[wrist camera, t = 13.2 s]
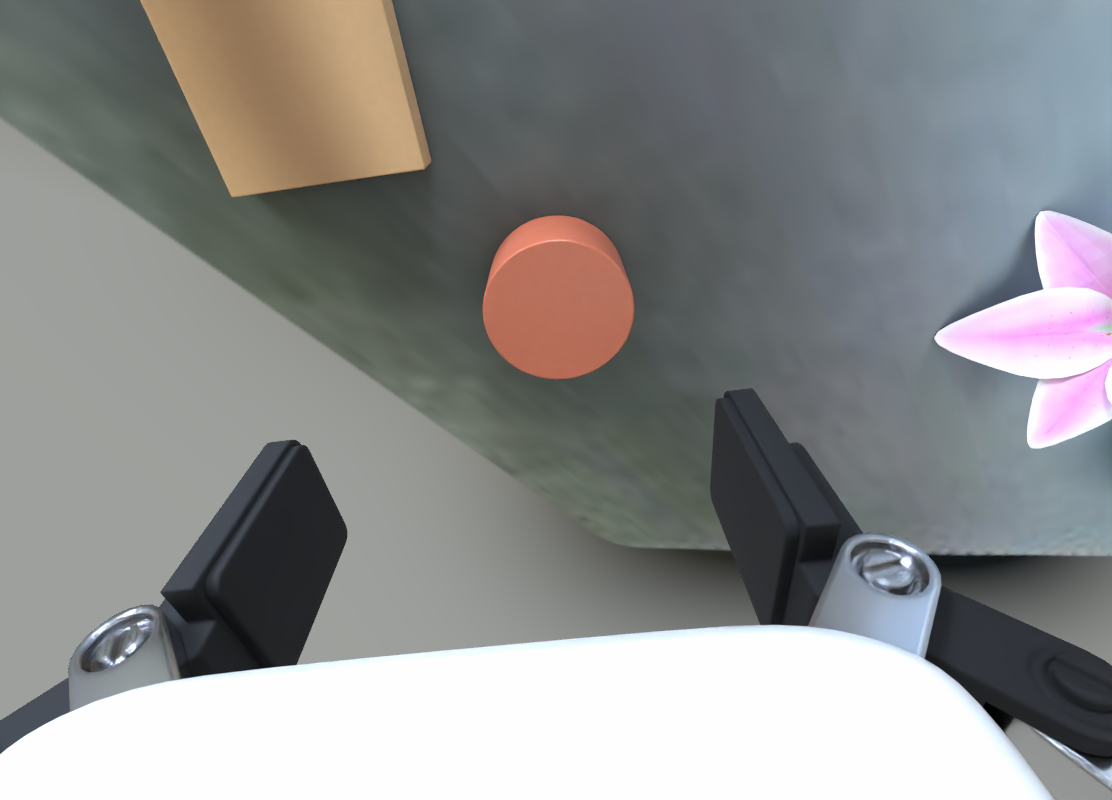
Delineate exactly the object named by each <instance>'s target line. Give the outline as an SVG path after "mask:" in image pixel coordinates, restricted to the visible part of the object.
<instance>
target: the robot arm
mask: <svg viewBox="0 0 1112 800" xmlns="http://www.w3.org/2000/svg"><path fill="white" fill-rule="evenodd" d="M710 492H711V498H712V502H713V505H714V508H715V510H716V513H717V515H718V518H719V520H720V523H721V526H722V528H723V531H724V533H725V536H726V538H727V541H728V543H729V546H730V548H731V551H732V554H733V556H734V559H735V561H736V564H737V566H738V568H739V571H740V574H741V576H742V579H743V582H744V584H745V587H746V589H747V592H748V594H749V597H750V599H751V602H752V604H753V607H754V610H755V612H756V615H757V617H758V620H759V622H760V625H749V626H726V627H712V628H699V629H685V630H672V631H671V630H670V631H657V632H645V633H633V634H622V635H611V636H600V637H588V638H576V639H566V640H555V641H544V642H531V643H521V644H510V645H499V646H489V647H477V648H468V649H456V650H447V651H435V652H424V653H414V654H403V655H393V656H383V657H373V658H362V659H352V660H342V661H332V662H323V663H312V664H302V665H297V662H298V660H299V657H300V655H301V652H302V650H303V647H304V645H305V642H306V640H307V637H308V635H309V632H310V630H311V627H312V625H313V623H314V620H315V618H316V615H317V612H318V610H319V608H320V605H321V603H322V600H323V598H324V595H325V593H326V590H327V588H328V585H329V583H330V580H331V578H332V575H333V573H334V570H335V568H336V566H337V563H338V561H339V558H340V556H341V553H342V551H343V548H344V546H345V543H346V540H347V528H346V525H345V523H344V521H343V519H342V516H341V515H340V512H339V510H338V508H337V506H336V504H335V502H334V500H333V498H332V496H331V494H330V492H329V490H328V488H327V486H326V484H325V482H324V479H323V478H322V476H321V473H320V472H319V469H318V467H317V465H316V463H315V461H314V459H313V457H312V455H311V453H310V451H309V449H308V448H307V447H306V446H305V445H301V444H300V443H299V442H298V441H296V440H287V441H279V442H271V443H268V444H267V445H266V446H265V447H264V448H263V450H262V451H261V452H260V454H259V455H258V456H257V458H256V459H255V461H254V462H253V463H252V465H251V466H250V468H249V469H248V470H247V472H246V473H245V475H244V476H243V477H242V479H241V480H240V482H239V483H238V484H237V486H236V487H235V489H234V490H233V491H232V493H231V494H230V496H229V497H228V499H227V500H226V501H225V503H224V504H223V505H222V507H221V508H220V509H219V511H218V513H217V514H216V515H215V516H214V518H213V519H212V521H211V522H210V523H209V525H208V526H207V528H206V529H205V530H204V532H203V533H202V535H201V536H200V537H199V539H198V540H197V542H196V543H195V545H194V546H193V547H192V549H191V550H190V551H189V553H188V554H187V556H186V557H185V558H184V560H183V561H182V563H181V564H180V565H179V567H178V568H177V570H176V571H175V572H174V574H173V575H172V577H171V578H170V579H169V581H168V582H167V584H166V585H165V586H164V588H163V589H162V591H161V594H162V595H163V596H164V597H165V600H164V601H163V603H162V604H161V606H160V607H157V606H154V605H140V606H136V607H133V608H129V609H127V610H124V611H122V612H120V613H118V614H116V615H114V616H112V617H111V618H109V619H108V620H106V621H105V622H103V623H101V624H100V625H99V626H98V627H97V628H95V629H94V630H93V631H92V632H91V633H90V634H88V635H87V636H86V637H85V639H84V640H83V641H82V642H81V643H80V644H79V645H78V647H77V648H76V650H75V652H74V654H73V656H72V657H71V659H70V663H69V668H68V674H69V675H68V676H69V677H68V678H67V679H65V680H64V681H62V682H61V683H59V684H57V685H56V686H54V687H53V688H51V689H50V690H48V691H46V692H45V693H43V694H42V695H40V696H38V697H37V698H36V699H34V700H32V701H31V702H29V703H27V704H26V705H24V706H23V707H21V708H20V709H18V710H16V711H15V712H13V713H12V714H10V715H9V716H7V717H5V718H4V719H2V720H0V800H1112V666H1111V665H1110V664H1109V663H1107V662H1106V661H1104V660H1103V659H1101V658H1099V657H1097V656H1095V655H1093V654H1091V653H1090V652H1088V651H1086V650H1084V649H1082V648H1079V647H1077V646H1075V645H1073V644H1070V643H1068V642H1066V641H1064V640H1062V639H1059V638H1057V637H1055V636H1053V635H1050V634H1048V633H1045V632H1044V631H1041V630H1039V629H1037V628H1035V627H1033V626H1030V625H1028V624H1026V623H1024V622H1021V621H1019V620H1017V619H1015V618H1012V617H1010V616H1008V615H1006V614H1004V613H1001V612H999V611H997V610H994V609H992V608H990V607H988V606H986V605H983V604H981V603H979V602H976V601H975V600H972V599H970V598H968V597H965V596H963V595H961V594H959V593H957V592H954V591H952V590H950V589H948V588H946V587H943V586H941V575H940V573H939V571H938V569H937V567H936V564H935V563H934V562H933V561H932V560H931V559H930V558H929V557H928V555H927V554H926V553H924V552H923V551H922V550H920V549H919V548H917V547H916V546H915V545H913V544H911V543H909V542H907V541H905V540H903V539H900V538H898V537H895V536H891V535H887V534H883V533H862V531H861V530H860V528H859V527H858V525H857V524H856V522H855V521H854V519H853V518H852V517H851V515H850V514H849V512H848V511H847V509H846V508H845V506H844V505H843V503H842V502H841V501H840V499H839V498H838V496H837V495H836V493H835V492H834V490H833V489H832V487H831V486H830V484H829V483H828V482H827V480H826V479H825V477H824V476H823V474H822V473H821V471H820V470H819V468H818V467H817V466H816V464H815V463H814V461H813V460H812V458H811V457H810V455H809V454H808V452H807V451H806V450H805V448H804V447H803V446H802V445H801V444H799V443H788V441H787V440H786V438H785V437H784V435H783V434H782V432H781V430H780V429H779V427H778V426H777V424H776V423H775V421H774V420H773V418H772V417H771V415H770V414H769V412H768V411H767V409H766V408H765V406H764V404H763V403H762V401H761V400H760V398H759V397H758V395H757V394H756V392H755V391H754V390H753V389H751V388H750V389H741V390H732V391H726V392H725V394H724V398H719V399H717V400H716V404H715V420H714V436H713V452H712V468H711V484H710Z"/></svg>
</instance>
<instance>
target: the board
mask: <svg viewBox="0 0 1112 800" xmlns="http://www.w3.org/2000/svg"><path fill="white" fill-rule="evenodd" d="M140 1H141V3H142V5H143V7H144V9H145V11H146V14H147V16H148V18H149V20H150V22H151V24H152V26H153V29H154V31H155V33H156V35H157V37H158V39H159V41H160V44H161V46H162V48H163V50H164V52H165V54H166V57H167V59H168V61H169V63H170V65H171V67H172V69H173V72H174V74H175V76H176V78H177V80H178V82H179V84H180V87H181V89H182V91H183V93H184V95H185V97H186V100H187V102H188V104H189V106H190V108H191V110H192V112H193V115H194V117H195V119H196V121H197V123H198V125H199V127H200V130H201V132H202V134H203V136H204V138H205V140H206V142H207V145H208V147H209V149H210V151H211V153H212V155H213V158H214V160H215V162H216V164H217V166H218V168H219V170H220V173H221V175H222V177H223V179H224V181H225V183H226V185H227V188H228V190H229V192H230V194H231V196H232V197H240V196H246V195H253V194H260V193H267V192H273V191H280V190H287V189H294V188H301V187H307V186H314V185H321V184H328V183H334V182H341V181H348V180H355V179H362V178H368V177H375V176H382V175H389V174H396V173H402V172H409V171H416V170H423V169H425V168H426V167H427V166H428V165H429V164H430V163H431V157H430V153H429V149H428V145H427V141H426V137H425V133H424V129H423V125H422V121H421V117H420V113H419V109H418V105H417V101H416V97H415V93H414V89H413V84H412V80H411V76H410V72H409V68H408V64H407V60H406V56H405V52H404V48H403V44H402V40H401V36H400V32H399V28H398V24H397V20H396V16H395V12H394V8H393V3H392V0H140Z"/></svg>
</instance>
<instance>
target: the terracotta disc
mask: <svg viewBox="0 0 1112 800" xmlns="http://www.w3.org/2000/svg"><path fill="white" fill-rule="evenodd" d="M633 318H634V298H633V293H632V289H631V286H630V283H629V280H628V278H627V275H626V272H625V269H624V266H623V264H622V261H621V258H620V256H619V254H618V251H617V249H616V248H615V246H614V245H613V243H612V242H611V241H610V239H609V238H608V237H607V236H606V235H605V234H604V233H603V232H602V231H601V230H599V229H598V228H597V227H595V226H594V225H592V224H590V223H588V222H586V221H584V220H581V219H578V218H575V217H570V216H560V215H555V216H545V217H541V218H537V219H534V220H531V221H529V222H527V223H525V224H523V225H521V226H520V227H518V228H517V229H515V230H514V231H513V232H512V233H511V234H510V235H509V236H507V238H506V239H505V240H504V241H503V242H502V244H501V245H500V247H499V249H498V250H497V252H496V254H495V257H494V259H493V262H492V266H491V270H490V274H489V278H488V282H487V287H486V291H485V295H484V301H483V319H484V325H485V328H486V331H487V334H488V336H489V338H490V340H491V342H492V344H493V345H494V347H495V348H496V350H497V351H498V352H499V353H500V354H501V356H502V357H503V358H505V359H506V360H507V361H508V362H509V363H510V364H512V365H513V366H515V367H516V368H518V369H520V370H522V371H523V372H526V373H528V374H531V375H534V376H538V377H542V378H548V379H568V378H574V377H578V376H581V375H585V374H587V373H590V372H592V371H594V370H596V369H598V368H599V367H601V366H603V365H604V364H605V363H607V362H608V361H609V360H610V359H611V358H613V357H614V356H615V355H616V353H617V352H618V351H619V350H620V349H621V347H622V346H623V344H624V343H625V341H626V339H627V337H628V335H629V333H630V330H631V327H632V324H633Z"/></svg>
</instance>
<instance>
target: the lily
mask: <svg viewBox="0 0 1112 800" xmlns="http://www.w3.org/2000/svg"><path fill="white" fill-rule="evenodd" d="M1035 247H1036V257H1037V264H1038V271H1039V274H1040V278H1041V282H1042V286H1043V288H1044V290H1040V291H1036V292H1033V293H1029V294H1025V295H1022V296H1019V297H1016V298H1013V299H1011V300H1008V301H1005V302H1003V303H1000V304H997V305H995V306H992V307H990V308H987V309H985V310H982V311H980V312H977V313H974V314H972V315H970V316H967V317H965V318H963V319H961V320H959V321H956V322H954V323H952V324H950V325H948V326H947V327H945V328H943V329H942V330H940V331H938V333H937V334H936V336H935V337H934V339H935V341H936V342H937V344H938V345H940V346H942V347H943V348H945V349H947V350H949V351H950V352H953V353H955V354H958V355H960V356H963V357H965V358H968V359H970V360H973V361H976V362H979V363H982V364H985V365H987V366H990V367H993V368H996V369H1000V370H1003V371H1006V372H1010V373H1013V374H1016V375H1022V376H1027V377H1033V378H1039V381H1038V384H1037V387H1036V390H1035V393H1034V396H1033V400H1032V404H1031V409H1030V413H1029V420H1028V427H1027V443H1028V444H1029V446H1030V447H1031V448H1039V449H1040V448H1043V447H1047V446H1050V445H1054V444H1057V443H1059V442H1062V441H1065V440H1067V439H1070V438H1073V437H1075V436H1077V435H1080V434H1082V433H1084V432H1087V431H1089V430H1091V429H1093V428H1096V427H1098V426H1100V425H1102V424H1104V423H1106V422H1107V421H1109V420H1111V419H1112V234H1111V233H1109V232H1107V231H1105V230H1102V229H1100V228H1098V227H1095V226H1093V225H1091V224H1089V223H1086V222H1084V221H1081V220H1078V219H1075V218H1073V217H1070V216H1067V215H1065V214H1061V213H1057V212H1053V211H1041V212H1040V213H1039V215H1038V216H1037V218H1036V222H1035Z"/></svg>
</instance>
